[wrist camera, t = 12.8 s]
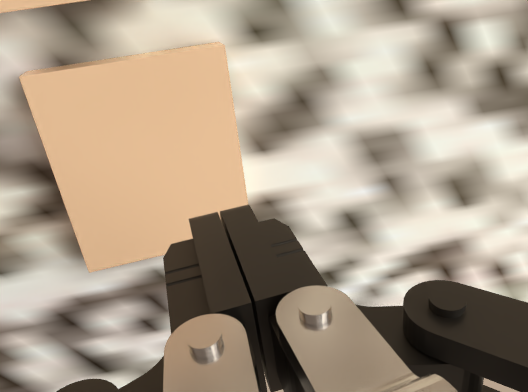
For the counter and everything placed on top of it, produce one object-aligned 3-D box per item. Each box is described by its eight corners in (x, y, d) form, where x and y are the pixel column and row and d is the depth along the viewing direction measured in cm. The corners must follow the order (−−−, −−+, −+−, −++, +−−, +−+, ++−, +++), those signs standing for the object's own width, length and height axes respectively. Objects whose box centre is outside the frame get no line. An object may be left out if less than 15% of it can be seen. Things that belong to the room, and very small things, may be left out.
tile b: (217, 40, 17) (29, 69, 16) (224, 44, 16) (18, 76, 14) (244, 217, 21) (92, 252, 19) (252, 233, 19) (89, 272, 18)
